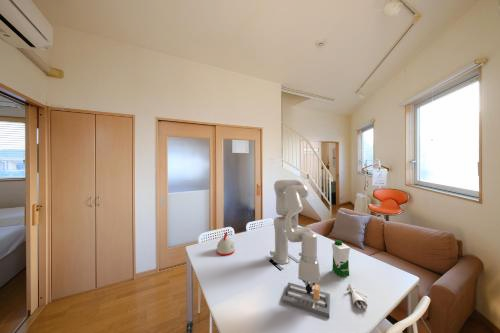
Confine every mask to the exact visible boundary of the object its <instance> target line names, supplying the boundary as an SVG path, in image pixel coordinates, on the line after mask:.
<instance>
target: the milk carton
mask: <svg viewBox="0 0 500 333" xmlns="http://www.w3.org/2000/svg"><path fill="white" fill-rule="evenodd" d="M331 246H332V247H331V248H332V272H333V273H335V274H336V276H338V277H340V278H343V277H348V276H350V269H349V268H350V267H349V264H350V263H349V259H350V258H349V256H350V251H351V247H350V246H348V245H347V244H345V243H343V241H342V240H340V239H335V240H334V243H331Z"/></svg>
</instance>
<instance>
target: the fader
mask: <svg viewBox="0 0 500 333" xmlns="http://www.w3.org/2000/svg"><path fill="white" fill-rule="evenodd" d="M313 289H314V296H313V299H315V300H318V301H320V296H319V291H320V284H315V285H313Z"/></svg>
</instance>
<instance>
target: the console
mask: <svg viewBox="0 0 500 333" xmlns="http://www.w3.org/2000/svg"><path fill="white" fill-rule="evenodd" d="M313 296H314V288H312V292H311V293H310V294H307V291H306V286H303V285H300V284H297V283H292V282H290V281H288V282H287V285H286V288H285V291H284V293H283V296H282V298H281V303H283V304H285V305H289V306H291V307H295V308H297V309H300V310H304V311H306V312H309V313H313V314H315V315H318V316H321V317H324V318H328V319H330V312H331V311H330V305H331V304H330V303H331V293H328V292H325V291H321V290H319V296H320V301H318V300H315V299H313Z"/></svg>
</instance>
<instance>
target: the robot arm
mask: <svg viewBox="0 0 500 333" xmlns="http://www.w3.org/2000/svg"><path fill="white" fill-rule="evenodd" d="M273 190H274V193H275V212H276V214H277V215H278V216H277V217H275V218H274V219H273V227H274V251H272V250H270V251H269V254H270V256H273V257H272V260H273V262H275V263H276V264H279V265H286V264H288V263H290V262H291V256H289V242H290V243H301V252H298V257H300V258H299V260H298V261H299V262H298V278H297V279H299V280H300V281H302V282H303V283H304V285H305V287H306V291H307V294H310V293H311V292H312V289H313V287H314V285H315V284H316V285H320V284H321V281H320V276H321V274H320V263H319V260H318V236H317V234H315V233H314V232H313V230H312V229H311V228H310V227H307V226H302V227H301V226H299V213H301V212H302V211H303V210H304V207H303V203H302V199H306V198H308V196H309V191H308V188H307V186H306V185H305V184H304V183H302V182H301V181H300V180H298V179H281V180H280V179H279V180H276V181H274V184H273ZM298 226H299V227H298Z"/></svg>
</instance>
